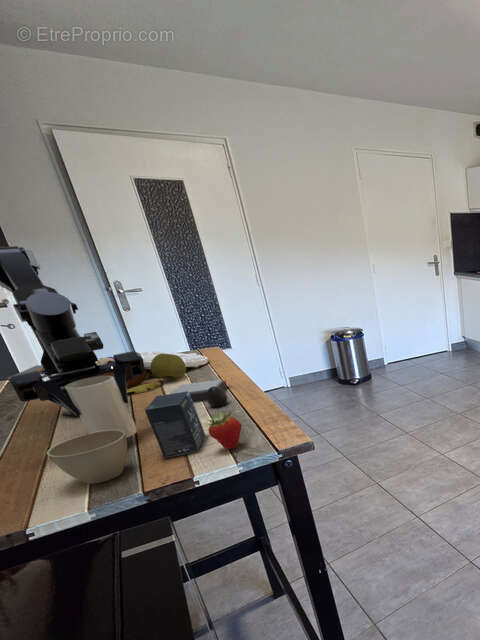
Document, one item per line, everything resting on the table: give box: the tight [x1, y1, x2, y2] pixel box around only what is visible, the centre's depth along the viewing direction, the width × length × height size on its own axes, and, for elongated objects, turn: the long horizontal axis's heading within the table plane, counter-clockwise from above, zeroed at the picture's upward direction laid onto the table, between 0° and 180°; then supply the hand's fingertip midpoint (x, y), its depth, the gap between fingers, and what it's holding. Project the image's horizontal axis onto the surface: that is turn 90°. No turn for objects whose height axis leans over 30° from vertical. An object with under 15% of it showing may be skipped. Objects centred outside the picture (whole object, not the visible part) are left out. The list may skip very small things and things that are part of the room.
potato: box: [101, 371, 147, 389], centre depth 120 cm, size 6×12×6 cm, turn 149°
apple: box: [150, 354, 187, 381], centre depth 126 cm, size 8×8×7 cm
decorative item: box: [127, 381, 162, 397], centre depth 119 cm, size 11×1×5 cm
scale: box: [169, 379, 228, 403], centre depth 114 cm, size 11×9×3 cm
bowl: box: [46, 430, 128, 485], centre depth 77 cm, size 10×10×7 cm
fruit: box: [207, 410, 242, 450], centre depth 85 cm, size 5×5×8 cm
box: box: [144, 391, 206, 459], centre depth 86 cm, size 8×6×11 cm
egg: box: [206, 386, 228, 408], centre depth 107 cm, size 4×4×5 cm
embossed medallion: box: [139, 351, 209, 369], centre depth 137 cm, size 20×20×3 cm
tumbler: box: [65, 376, 138, 439], centre depth 86 cm, size 7×7×12 cm
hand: (103, 408), depth 85 cm, fingers closed on tumbler, 7 cm apart
